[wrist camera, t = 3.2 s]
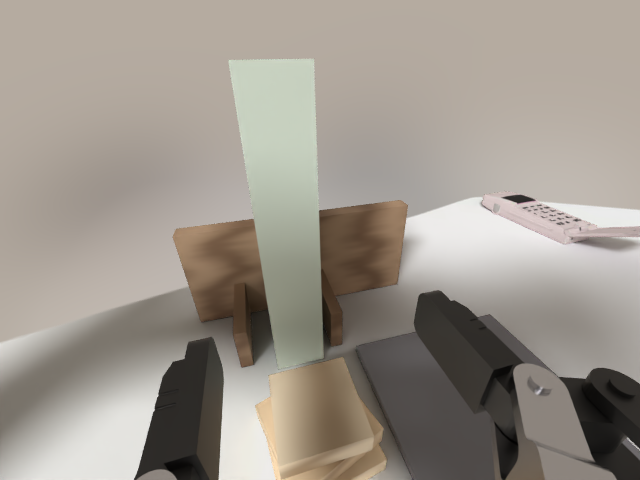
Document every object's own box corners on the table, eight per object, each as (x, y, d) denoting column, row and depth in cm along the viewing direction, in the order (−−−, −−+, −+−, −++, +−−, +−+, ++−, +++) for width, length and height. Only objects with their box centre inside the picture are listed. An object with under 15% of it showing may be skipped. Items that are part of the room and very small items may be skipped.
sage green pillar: (278, 369, 23) (228, 60, 13) (271, 318, 29) (231, 67, 18) (323, 358, 24) (313, 58, 13) (309, 311, 29) (293, 66, 18)
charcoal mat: (462, 592, 13) (465, 588, 13) (356, 350, 25) (356, 346, 25) (674, 493, 16) (681, 489, 16) (488, 318, 28) (489, 314, 27)
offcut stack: (282, 530, 15) (273, 497, 13) (258, 415, 20) (248, 377, 18) (388, 470, 17) (396, 432, 15) (341, 380, 23) (342, 343, 20)
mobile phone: (657, 235, 30) (477, 173, 51) (628, 278, 33) (468, 203, 54) (690, 226, 32) (502, 170, 52) (659, 269, 35) (493, 199, 55)
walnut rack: (191, 379, 23) (152, 283, 18) (202, 312, 30) (176, 228, 25) (429, 323, 27) (449, 234, 22) (391, 276, 34) (400, 200, 29)
